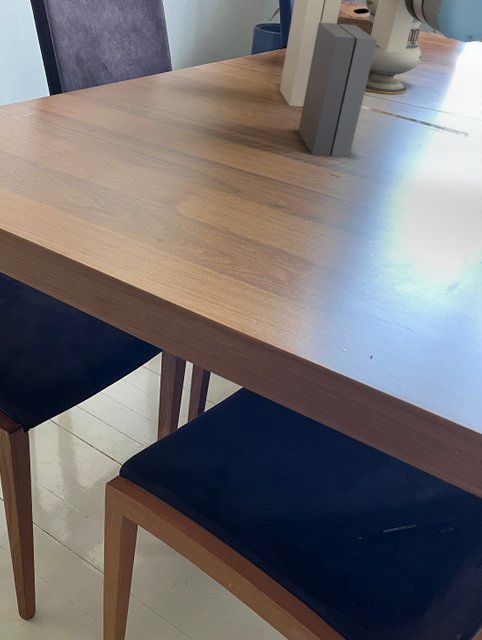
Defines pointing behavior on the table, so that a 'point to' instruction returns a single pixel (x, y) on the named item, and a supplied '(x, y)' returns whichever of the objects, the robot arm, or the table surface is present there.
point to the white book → (392, 25)
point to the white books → (304, 45)
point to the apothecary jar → (391, 59)
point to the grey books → (335, 88)
